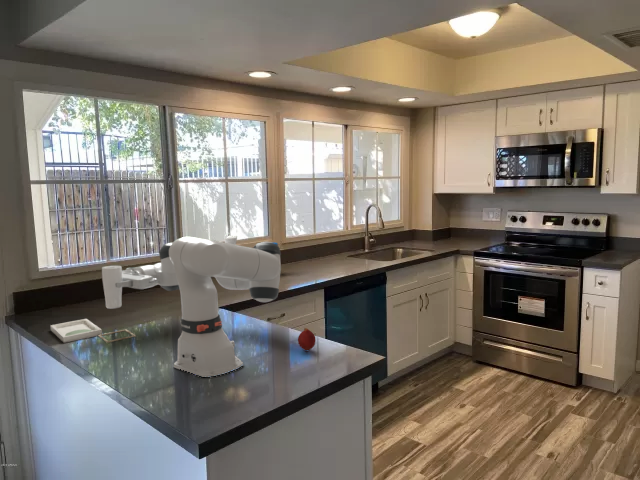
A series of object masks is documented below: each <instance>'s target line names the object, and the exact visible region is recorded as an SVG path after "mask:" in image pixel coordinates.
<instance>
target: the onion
mask: <svg viewBox="0 0 640 480" xmlns="http://www.w3.org/2000/svg"><path fill="white" fill-rule="evenodd" d="M297 343H298V346H299V347H300V348H301V349H303V351H305V350H309V351H310V350H312V349H313V348H314V347H315V345H316V343H317V342H316V335H315V333H313V332H312V330H310V329H309V328H308V327H304V330H303V331H301V332H300V334H299V335H298V337H297Z"/></svg>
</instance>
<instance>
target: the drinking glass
mask: <svg viewBox="0 0 640 480" xmlns="http://www.w3.org/2000/svg"><path fill="white" fill-rule="evenodd" d="M122 267H123V266H121V265H108V266H102V267H101V278H102V279H101V280H102V286H103V287H102V288H103V292H104V300H105V307H106V308H107V309H111V310H112V309H113V310H114V309H119V308H121V307H122V306H123V305H122V302H123V301H122V294H123V287H120V288H118V287H116V285H115V283H117V282H122V271H123V268H122Z"/></svg>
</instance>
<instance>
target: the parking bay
mask: <svg viewBox="0 0 640 480" xmlns="http://www.w3.org/2000/svg"><path fill="white" fill-rule="evenodd" d="M122 332H126V333H127V334H129V336H125V337H120V338H116V339H111V340H108V339H106V338H105V337H104V336H109V335H112V334H117V333H122ZM98 337H99V339H101V340H102V341H104V342H105V343H107V344H108V343H113V342H118V341H121V340H125V339H130V338H135V337H137V335H136V334H134V333H133V332H132V331H130V330H128V329H126V328H125V329H121V330H118V331H117V330H115V331H112V332H107V333H102V335H98Z"/></svg>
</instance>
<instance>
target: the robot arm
mask: <svg viewBox="0 0 640 480" xmlns="http://www.w3.org/2000/svg"><path fill="white" fill-rule="evenodd" d="M158 255H159V258H160V262H157V263H154V264H146V265H140V266H136V267H135V266H134V267H127V268H126V269H125V270H124V269H122V282H117V283H115V285H116V287H118V288H120V287H122V288H131V289H135V290H144V289H149V288H153V287H155V286H160V287H161V288H163V289H164V290H165V291H168V292H172V291H177V290H179V292H180V303H181V317H180V330H181V334H180V336H179V337H178V339H177V360H176V361H175V362H174V363H173V368H175V369H177V370H180V369H181V371H183V370H184V371H183V372H185V371H187V372H186V373H188V372H190V373H189V374H191V373H193V374H196V375H199V376H202V377H205V376H206V377H208V376H214V375H218V374H222V373H225V372H228V371H231V370H233V369H236V368H238V367H240V366H241V365H242V364H243V365H244V362H243V361H242V360H241V359H240V358H239V357H237V355H236V353H235V347H236V344H235V341H234V340H230V339H229V337H228V335H227V334H226V333H225V331H224V329H223V320H222V318H221V317H220V314H219V302H218V299H219V298H218V290H217V288H216V286H215V284H214V282H213V279H212V278H215V280H216V281H217V283H218V284H219V286H221V287H222V288H224V289H226V290H231V291H233V290H235V291H237V290H239V291H241V290H242V291H243V290H249V294H250V297H251V298H252V299H253V300H256V301H257V302H260V303H269V302H272V301H274V300H276V299H277V298H278V295H279V292H280V289H279V288H280V287H279V286H280V279H281V272H282V271H281V270H282V266H281V255H282V253H281V249H280V246H279V244H278V245H277V244H274V243H272V241H262V242H258V243H255V245H253V247H248V246H243V245H238V244H236V245H234V244H229V243H225V241H224V242H223V241H218V240H213V239H208V238H203V237H195V236H189V235H188V236H183V237H180V238H177V239H175V240H174V241H173V242H167V243H164V244H163V245H162V247H161V248H160V250H159V251H158ZM193 374H192V375H193ZM196 375H195V376H196ZM199 376H198V377H199Z"/></svg>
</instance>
